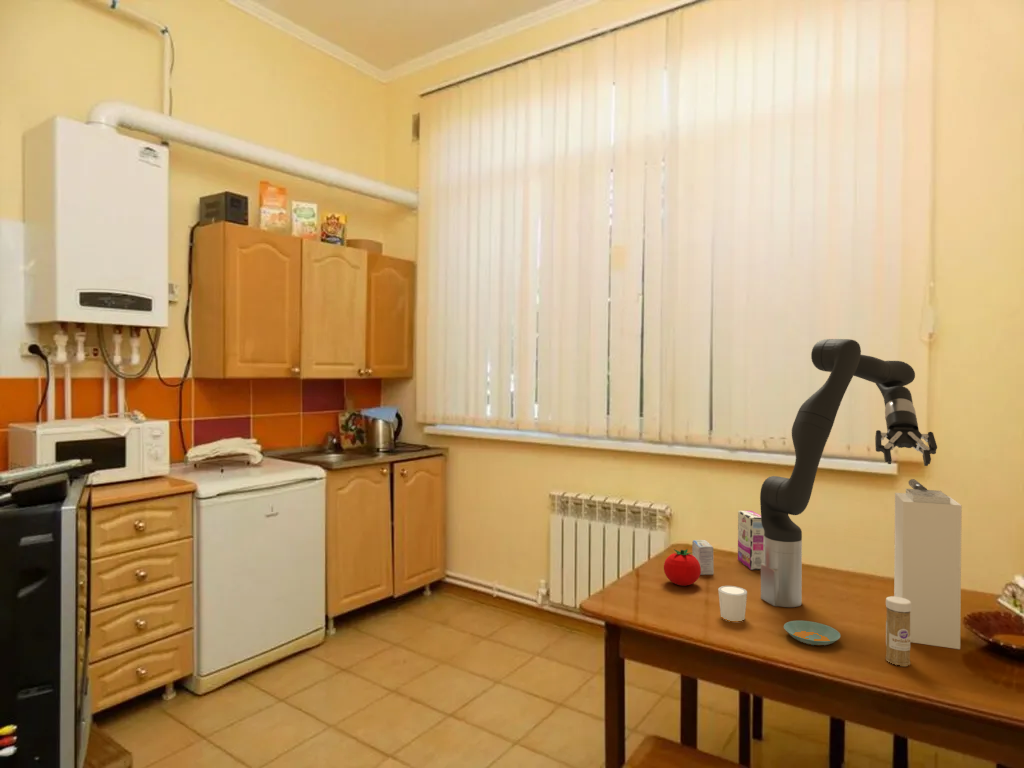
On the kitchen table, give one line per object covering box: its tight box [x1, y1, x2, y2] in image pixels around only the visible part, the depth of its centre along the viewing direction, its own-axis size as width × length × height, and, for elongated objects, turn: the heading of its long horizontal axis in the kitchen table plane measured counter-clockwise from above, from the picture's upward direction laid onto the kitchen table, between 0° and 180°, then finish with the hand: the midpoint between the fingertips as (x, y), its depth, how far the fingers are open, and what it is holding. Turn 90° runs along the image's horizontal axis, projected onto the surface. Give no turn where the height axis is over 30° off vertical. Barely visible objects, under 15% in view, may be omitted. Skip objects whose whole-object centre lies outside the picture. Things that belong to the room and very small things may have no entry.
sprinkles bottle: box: [885, 595, 911, 667], centre depth 131 cm, size 5×5×14 cm
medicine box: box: [691, 539, 715, 576], centre depth 191 cm, size 8×4×9 cm, turn 179°
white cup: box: [717, 585, 748, 622], centre depth 155 cm, size 7×7×7 cm
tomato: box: [663, 548, 701, 587], centre depth 179 cm, size 10×10×10 cm
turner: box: [905, 478, 951, 504], centre depth 149 cm, size 21×7×2 cm, turn 157°
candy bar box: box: [737, 510, 764, 571], centre depth 197 cm, size 11×5×16 cm, turn 1°
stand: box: [893, 492, 963, 650], centre depth 144 cm, size 11×11×32 cm
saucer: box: [783, 619, 842, 646], centre depth 143 cm, size 12×12×2 cm
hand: (908, 463), depth 167 cm, fingers open, 8 cm apart
